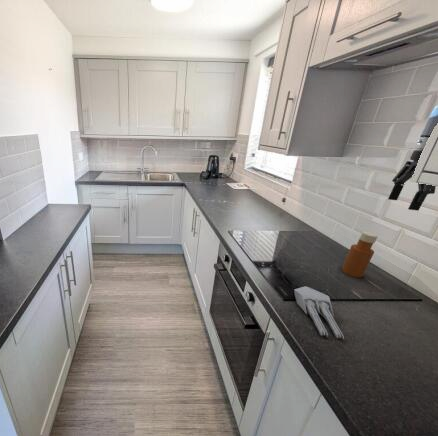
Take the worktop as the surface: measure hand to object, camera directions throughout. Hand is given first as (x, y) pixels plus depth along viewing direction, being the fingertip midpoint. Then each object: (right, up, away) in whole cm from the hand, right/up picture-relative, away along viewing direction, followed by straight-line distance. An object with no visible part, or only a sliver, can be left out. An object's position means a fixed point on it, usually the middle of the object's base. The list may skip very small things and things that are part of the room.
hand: (402, 204), depth 93 cm
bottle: (-13, -29, +8) cm, 33 cm away
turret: (-47, -38, -15) cm, 62 cm away
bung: (-13, -17, +3) cm, 22 cm away
